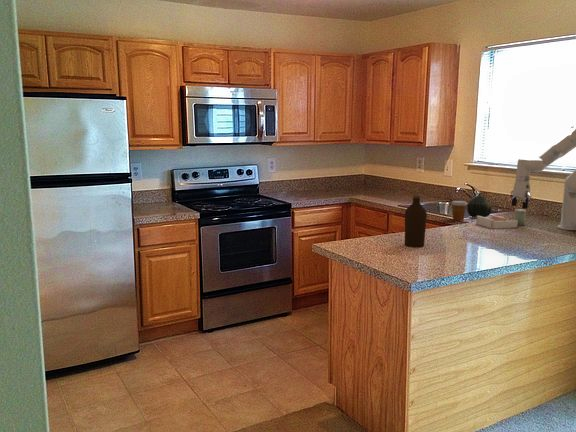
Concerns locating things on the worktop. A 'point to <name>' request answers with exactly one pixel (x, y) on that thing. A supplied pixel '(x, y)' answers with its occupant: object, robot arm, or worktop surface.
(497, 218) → the pusher plate
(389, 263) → the worktop surface
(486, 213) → the squash
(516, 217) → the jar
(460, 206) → the disposable coffee cup
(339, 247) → the worktop surface
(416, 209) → the olive oil
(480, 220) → the white open tray
